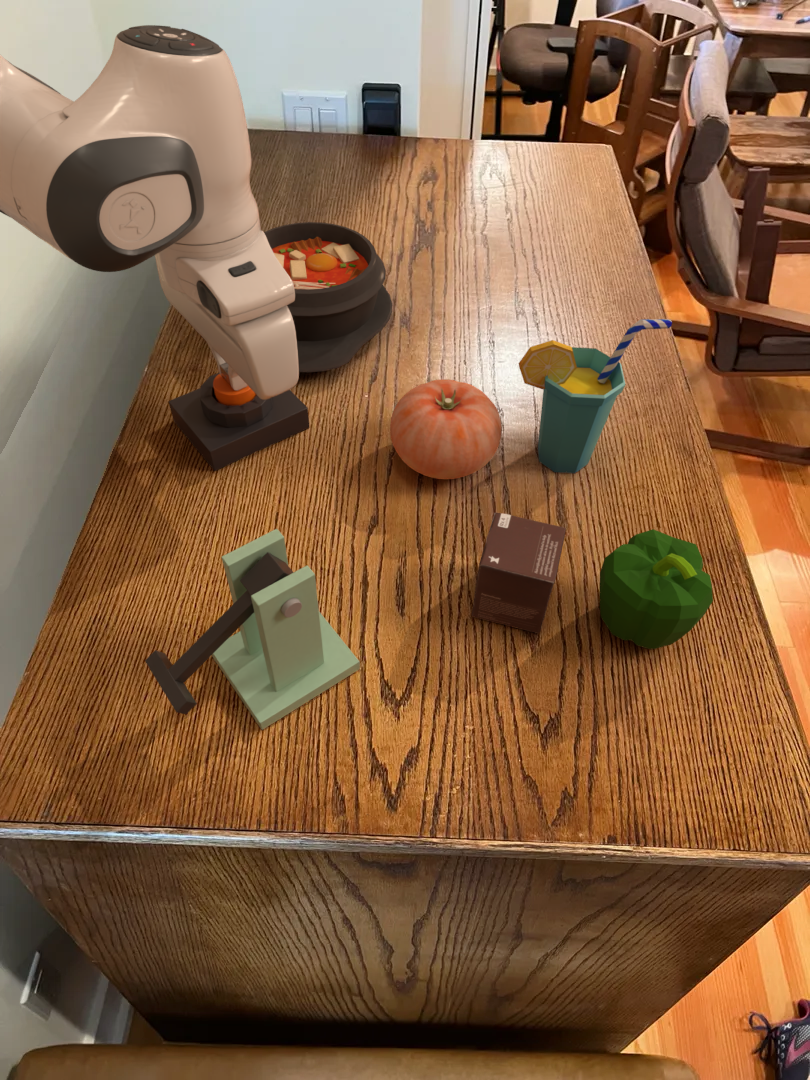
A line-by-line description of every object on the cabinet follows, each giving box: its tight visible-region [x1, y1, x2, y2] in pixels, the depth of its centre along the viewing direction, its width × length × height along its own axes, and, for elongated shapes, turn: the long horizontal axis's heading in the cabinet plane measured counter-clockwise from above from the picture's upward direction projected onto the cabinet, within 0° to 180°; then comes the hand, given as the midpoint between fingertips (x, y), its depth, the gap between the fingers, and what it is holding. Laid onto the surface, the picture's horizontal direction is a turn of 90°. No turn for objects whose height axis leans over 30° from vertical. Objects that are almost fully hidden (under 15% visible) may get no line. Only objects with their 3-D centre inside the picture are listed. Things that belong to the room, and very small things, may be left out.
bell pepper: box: [599, 528, 714, 650], centre depth 61 cm, size 8×8×10 cm
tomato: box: [389, 379, 503, 480], centre depth 74 cm, size 11×11×8 cm
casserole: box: [263, 221, 393, 373], centre depth 88 cm, size 25×19×8 cm
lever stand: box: [211, 528, 361, 731], centre depth 57 cm, size 9×8×13 cm
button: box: [213, 374, 256, 406], centre depth 76 cm, size 4×4×2 cm
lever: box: [144, 552, 295, 715], centre depth 53 cm, size 12×5×2 cm, turn 127°
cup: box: [518, 318, 673, 474], centre depth 72 cm, size 14×8×15 cm, turn 110°
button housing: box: [167, 372, 310, 472], centre depth 78 cm, size 11×9×4 cm
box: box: [471, 511, 567, 634], centre depth 63 cm, size 6×6×7 cm
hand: (234, 381), depth 75 cm, fingers closed, pressing on button
